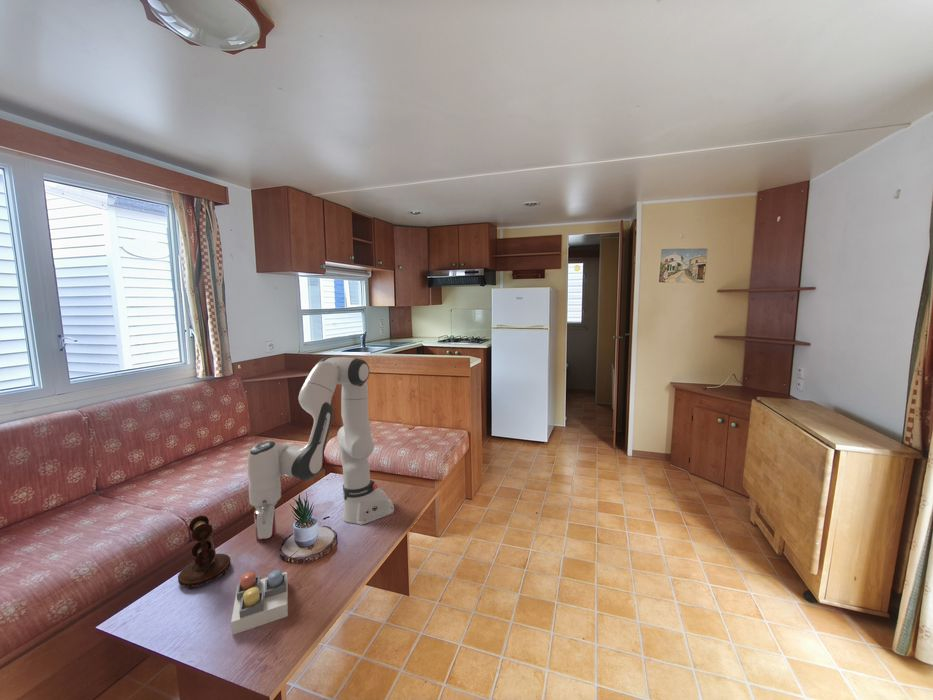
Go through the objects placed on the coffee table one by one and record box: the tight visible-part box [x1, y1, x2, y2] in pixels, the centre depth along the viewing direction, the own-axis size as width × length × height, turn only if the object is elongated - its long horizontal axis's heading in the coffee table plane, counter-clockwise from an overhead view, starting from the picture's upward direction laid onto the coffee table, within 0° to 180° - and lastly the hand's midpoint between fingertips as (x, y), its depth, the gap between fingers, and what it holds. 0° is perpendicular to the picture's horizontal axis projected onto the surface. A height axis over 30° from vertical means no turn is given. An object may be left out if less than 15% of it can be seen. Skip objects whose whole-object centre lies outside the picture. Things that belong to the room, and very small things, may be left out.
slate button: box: [267, 569, 283, 588], centre depth 114 cm, size 4×4×3 cm
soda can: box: [253, 507, 278, 543], centre depth 147 cm, size 7×7×12 cm
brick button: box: [239, 571, 257, 590], centre depth 114 cm, size 4×4×3 cm
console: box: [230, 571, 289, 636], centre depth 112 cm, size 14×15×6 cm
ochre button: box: [243, 587, 260, 607], centre depth 107 cm, size 4×4×3 cm
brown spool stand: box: [177, 515, 232, 590], centre depth 126 cm, size 15×15×20 cm
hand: (267, 535), depth 117 cm, fingers closed
